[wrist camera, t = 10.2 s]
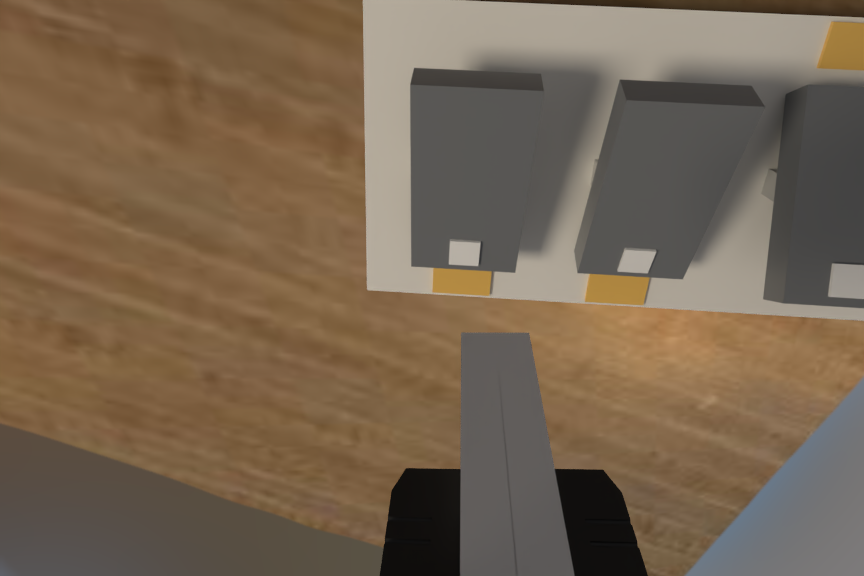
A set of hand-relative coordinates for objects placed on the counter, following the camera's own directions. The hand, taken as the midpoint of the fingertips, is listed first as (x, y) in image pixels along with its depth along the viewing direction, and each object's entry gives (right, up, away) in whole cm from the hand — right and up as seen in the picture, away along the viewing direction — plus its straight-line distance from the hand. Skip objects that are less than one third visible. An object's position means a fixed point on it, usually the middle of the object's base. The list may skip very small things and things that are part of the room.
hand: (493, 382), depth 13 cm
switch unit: (+9, +10, +18) cm, 22 cm away
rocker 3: (+16, +6, +11) cm, 20 cm away
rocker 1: (0, +7, +12) cm, 14 cm away
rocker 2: (+8, +6, +12) cm, 16 cm away
